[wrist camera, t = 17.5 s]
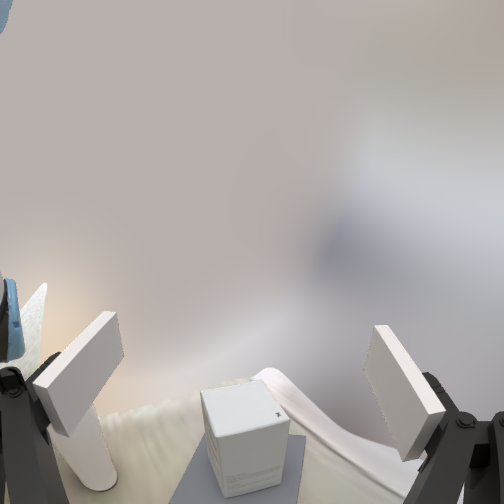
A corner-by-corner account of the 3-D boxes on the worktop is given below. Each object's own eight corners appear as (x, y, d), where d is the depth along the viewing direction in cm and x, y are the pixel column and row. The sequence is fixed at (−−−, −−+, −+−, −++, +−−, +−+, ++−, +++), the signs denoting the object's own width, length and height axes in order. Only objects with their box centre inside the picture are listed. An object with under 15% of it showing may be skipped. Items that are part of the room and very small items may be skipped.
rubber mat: (290, 531, 22) (291, 530, 21) (169, 506, 24) (168, 504, 24) (305, 438, 37) (305, 435, 37) (210, 424, 40) (210, 421, 39)
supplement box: (260, 446, 35) (264, 377, 32) (282, 485, 28) (293, 419, 25) (207, 457, 32) (198, 388, 29) (222, 500, 26) (215, 437, 23)
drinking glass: (113, 454, 31) (81, 369, 27) (131, 489, 26) (95, 407, 22) (70, 464, 27) (28, 381, 23) (84, 502, 22) (31, 421, 18)
